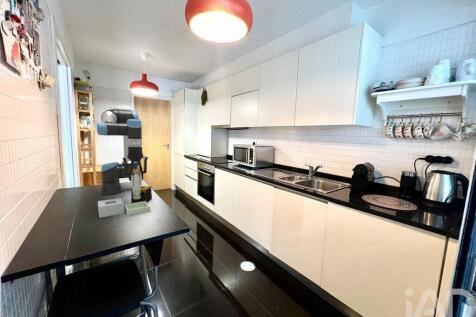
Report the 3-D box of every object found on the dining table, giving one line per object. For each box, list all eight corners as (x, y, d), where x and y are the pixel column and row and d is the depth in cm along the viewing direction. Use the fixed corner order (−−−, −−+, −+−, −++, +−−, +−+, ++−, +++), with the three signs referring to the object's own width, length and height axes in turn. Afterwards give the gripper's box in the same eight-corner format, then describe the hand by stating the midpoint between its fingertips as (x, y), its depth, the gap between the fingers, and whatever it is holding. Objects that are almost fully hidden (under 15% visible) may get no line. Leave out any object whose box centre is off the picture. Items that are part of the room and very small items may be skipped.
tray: (124, 209, 123) (124, 204, 123) (145, 206, 130) (145, 201, 130) (127, 216, 113) (127, 210, 113) (150, 211, 121) (150, 206, 120)
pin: (131, 197, 121) (130, 169, 119) (140, 196, 124) (139, 169, 122) (133, 199, 117) (132, 170, 116) (142, 198, 120) (141, 170, 118)
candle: (145, 204, 134) (145, 189, 133) (130, 203, 134) (130, 189, 133) (152, 199, 144) (152, 185, 143) (138, 199, 144) (138, 185, 143)
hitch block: (98, 211, 120) (97, 201, 119) (121, 207, 127) (120, 198, 126) (99, 217, 110) (98, 207, 110) (124, 213, 118) (123, 203, 117)
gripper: (119, 146, 109) (120, 188, 112) (152, 146, 119) (153, 185, 122) (117, 146, 115) (119, 186, 118) (149, 145, 125) (150, 182, 128)
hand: (136, 185), depth 120 cm, fingers closed on pin, 4 cm apart
